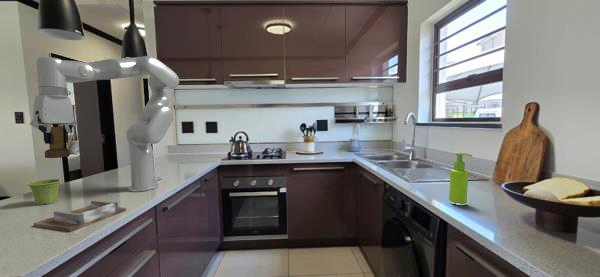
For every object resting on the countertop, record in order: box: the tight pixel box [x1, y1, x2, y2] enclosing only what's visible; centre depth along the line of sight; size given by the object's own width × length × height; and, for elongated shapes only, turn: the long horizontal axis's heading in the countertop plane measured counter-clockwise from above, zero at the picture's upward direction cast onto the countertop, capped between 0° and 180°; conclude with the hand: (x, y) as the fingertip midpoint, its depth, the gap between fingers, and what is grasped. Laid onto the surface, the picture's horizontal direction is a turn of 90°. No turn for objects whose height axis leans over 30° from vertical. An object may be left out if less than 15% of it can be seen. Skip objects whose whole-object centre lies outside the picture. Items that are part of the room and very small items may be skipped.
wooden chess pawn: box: [44, 124, 71, 159], centre depth 92 cm, size 7×6×18 cm
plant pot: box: [27, 178, 62, 206], centre depth 101 cm, size 9×9×9 cm
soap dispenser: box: [448, 152, 473, 204], centre depth 98 cm, size 6×7×20 cm
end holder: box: [33, 199, 127, 233], centre depth 86 cm, size 18×16×4 cm
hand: (56, 142), depth 92 cm, fingers closed on wooden chess pawn, 3 cm apart
